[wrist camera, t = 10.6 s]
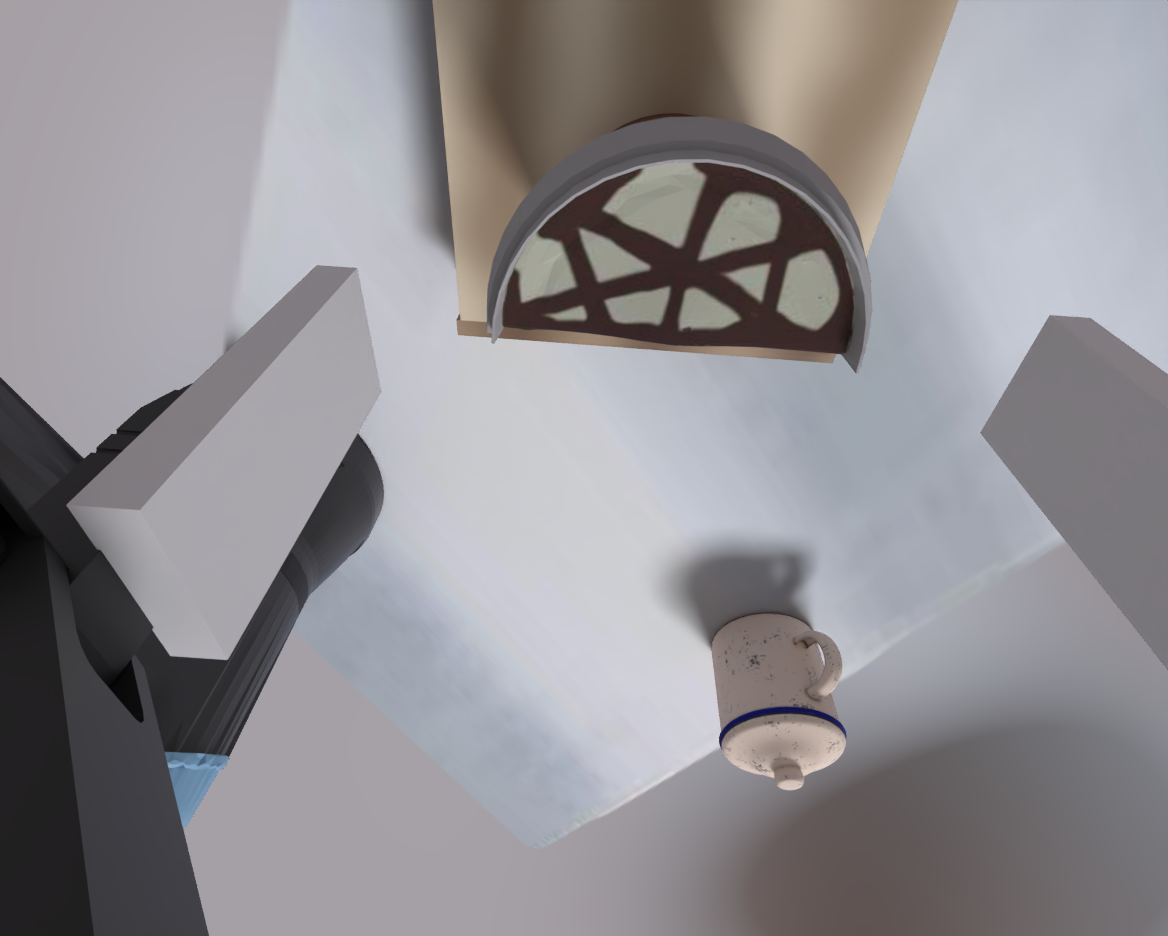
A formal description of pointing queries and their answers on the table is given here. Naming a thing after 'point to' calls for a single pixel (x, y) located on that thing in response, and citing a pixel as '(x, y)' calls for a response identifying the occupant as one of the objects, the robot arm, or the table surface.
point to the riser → (669, 102)
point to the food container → (687, 244)
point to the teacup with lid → (777, 697)
